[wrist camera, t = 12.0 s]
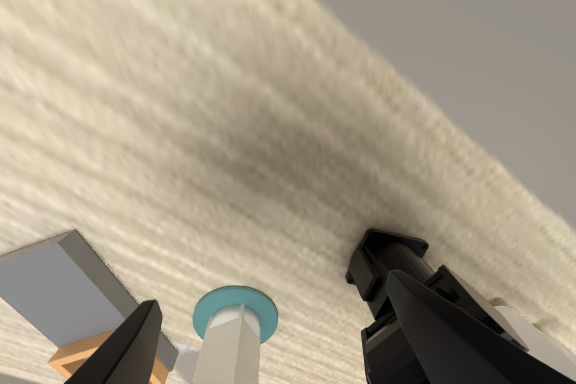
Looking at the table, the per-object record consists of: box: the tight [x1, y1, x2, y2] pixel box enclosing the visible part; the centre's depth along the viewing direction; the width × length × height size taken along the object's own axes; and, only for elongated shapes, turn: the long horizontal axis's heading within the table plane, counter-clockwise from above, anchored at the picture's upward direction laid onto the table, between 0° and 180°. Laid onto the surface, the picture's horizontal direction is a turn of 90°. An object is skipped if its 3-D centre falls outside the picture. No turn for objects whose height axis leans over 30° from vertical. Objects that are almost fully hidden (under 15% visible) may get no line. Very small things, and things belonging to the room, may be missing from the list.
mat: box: [193, 286, 278, 344], centre depth 26 cm, size 9×9×1 cm
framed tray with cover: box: [0, 229, 178, 384], centre depth 24 cm, size 18×8×4 cm, turn 19°
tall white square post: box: [192, 304, 261, 384], centre depth 22 cm, size 5×5×10 cm
